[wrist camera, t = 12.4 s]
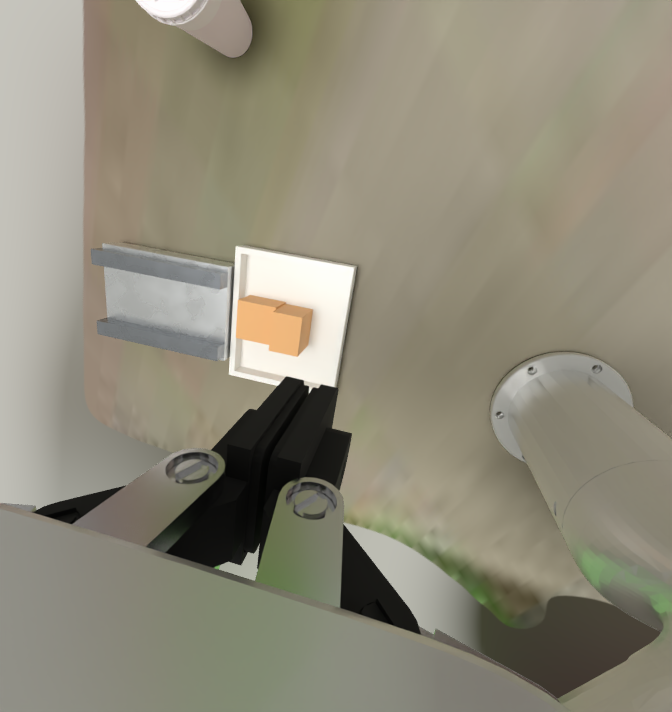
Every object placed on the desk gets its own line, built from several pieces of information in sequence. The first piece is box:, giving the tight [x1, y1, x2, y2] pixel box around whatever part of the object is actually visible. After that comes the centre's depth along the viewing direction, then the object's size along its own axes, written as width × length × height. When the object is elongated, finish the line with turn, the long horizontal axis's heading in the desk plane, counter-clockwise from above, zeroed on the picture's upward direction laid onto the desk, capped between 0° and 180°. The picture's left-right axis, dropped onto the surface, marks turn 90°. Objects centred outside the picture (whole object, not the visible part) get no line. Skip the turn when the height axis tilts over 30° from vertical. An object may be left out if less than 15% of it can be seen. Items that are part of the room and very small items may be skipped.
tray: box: [229, 245, 357, 393], centre depth 39 cm, size 12×14×2 cm
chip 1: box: [236, 295, 286, 345], centre depth 38 cm, size 4×4×3 cm
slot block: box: [91, 242, 235, 361], centre depth 39 cm, size 14×10×4 cm
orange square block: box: [269, 304, 313, 357], centre depth 37 cm, size 4×4×3 cm
